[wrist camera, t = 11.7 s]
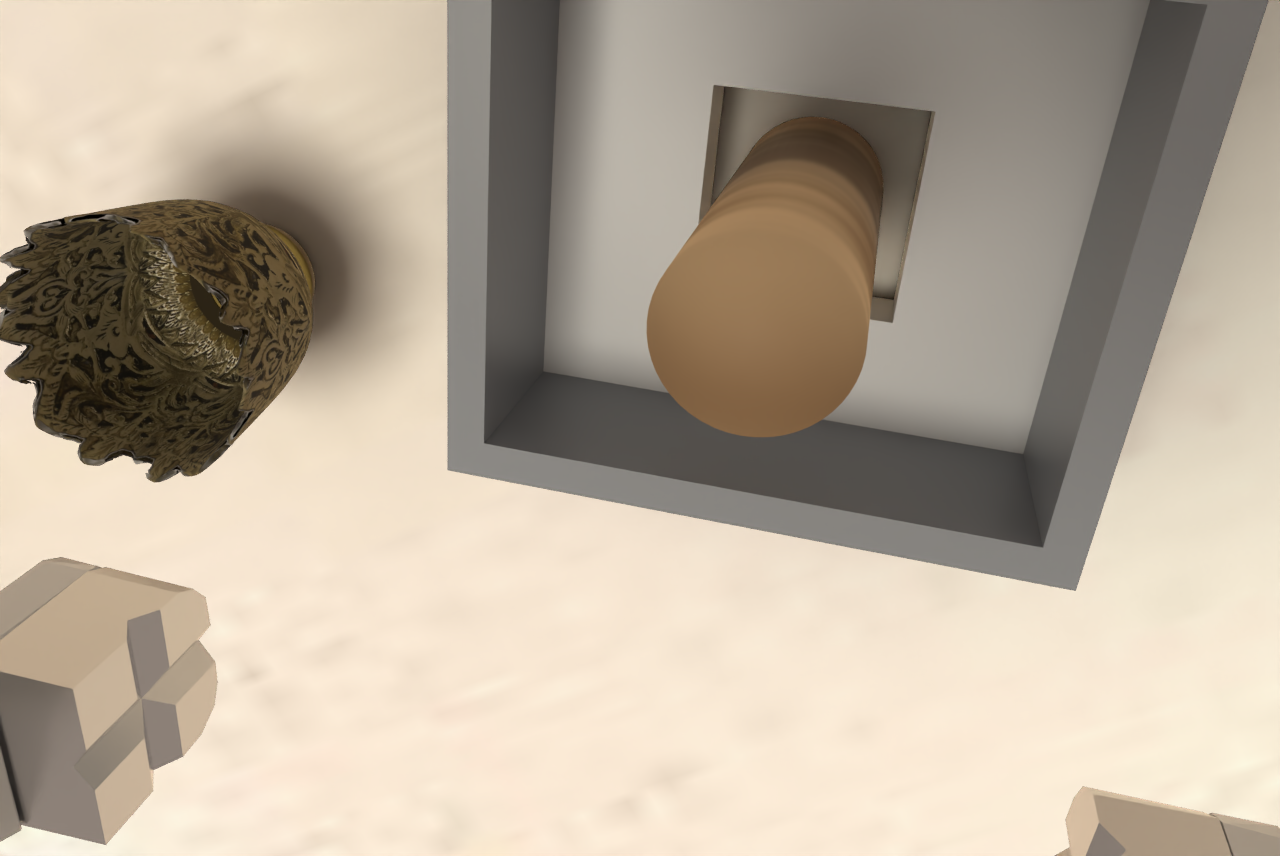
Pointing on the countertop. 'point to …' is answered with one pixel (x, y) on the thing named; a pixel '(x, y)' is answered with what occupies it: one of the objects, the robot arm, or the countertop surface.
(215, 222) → the ornate bronze lampshade
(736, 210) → the oak peg
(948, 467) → the socket box
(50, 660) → the robot arm
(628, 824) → the countertop surface
